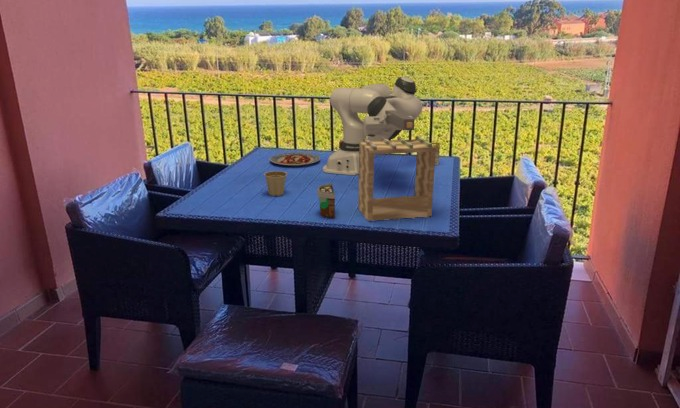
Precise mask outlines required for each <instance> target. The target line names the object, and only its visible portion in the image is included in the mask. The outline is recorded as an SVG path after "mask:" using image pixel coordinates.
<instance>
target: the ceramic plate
mask: <svg viewBox="0 0 680 408" xmlns="http://www.w3.org/2000/svg"><path fill="white" fill-rule="evenodd" d="M320 160H321V157H320V156H319V155H318V154H313V153H310V152H296V151H295V152H285V153H278V154H275V155H272V156H270V158H269V161H270V162H271V163H274V164H277V165H281V166H285V167H300V166H308V165H310V164H313V163H315V164H316V162H317V163H318V162H319V161H320Z"/></svg>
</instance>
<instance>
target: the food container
mask: <svg viewBox="0 0 680 408" xmlns="http://www.w3.org/2000/svg"><path fill="white" fill-rule="evenodd" d="M333 184H334V183H327V184H322V185H319V186H318V188H317V190H316V191H317V192H316V195H317V196H318V202H319V203H318V204H319V213H320V214H319V215H320V216H321V217H323V218H326V217H327V218H328V219H335V218H336V215H335V214H336V213H335V212H336V210H335V209H336V207H335V206H336V205H335V204H336V192H334V188H333V187H334V185H333Z"/></svg>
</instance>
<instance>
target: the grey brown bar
mask: <svg viewBox="0 0 680 408" xmlns="http://www.w3.org/2000/svg"><path fill="white" fill-rule="evenodd" d="M385 114H388V117H389V118H388V120H385V121H387V122H389V123H391V124H393V125H394V126H396V127H398V128H400V129H402V131H414V130H415V120H416V119H413V118H411V117H409V116H407V115H404V114H402V113H400V112H398V111H396V110H385Z"/></svg>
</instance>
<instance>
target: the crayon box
mask: <svg viewBox="0 0 680 408" xmlns="http://www.w3.org/2000/svg"><path fill="white" fill-rule="evenodd" d="M430 143H431V144H432V145H433V146H435V147H436V154H435V166H439V163H440V149H441V147H440V146H441V142H430Z"/></svg>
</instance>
